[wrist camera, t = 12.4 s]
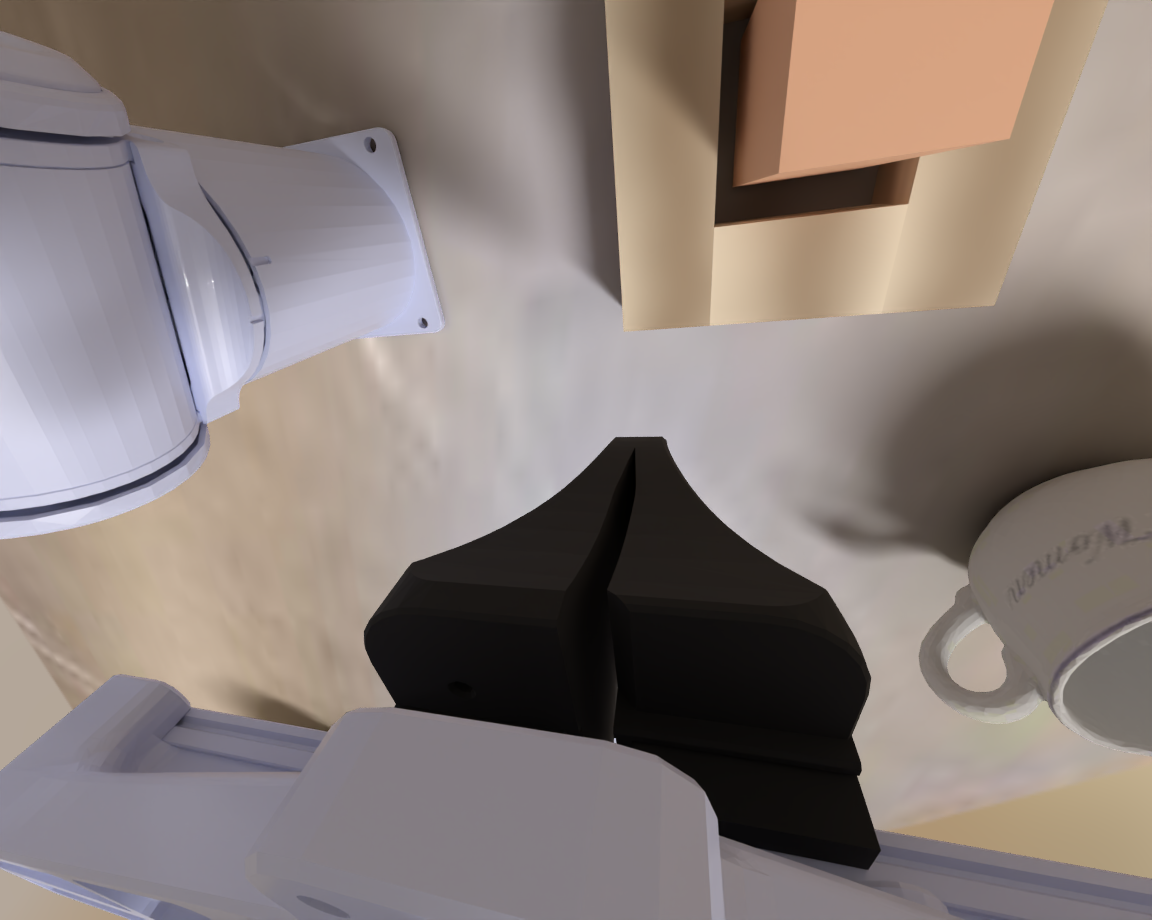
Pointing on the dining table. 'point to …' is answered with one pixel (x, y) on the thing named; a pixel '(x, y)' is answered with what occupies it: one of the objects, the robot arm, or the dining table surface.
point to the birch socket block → (805, 187)
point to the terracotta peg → (878, 81)
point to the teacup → (1063, 608)
